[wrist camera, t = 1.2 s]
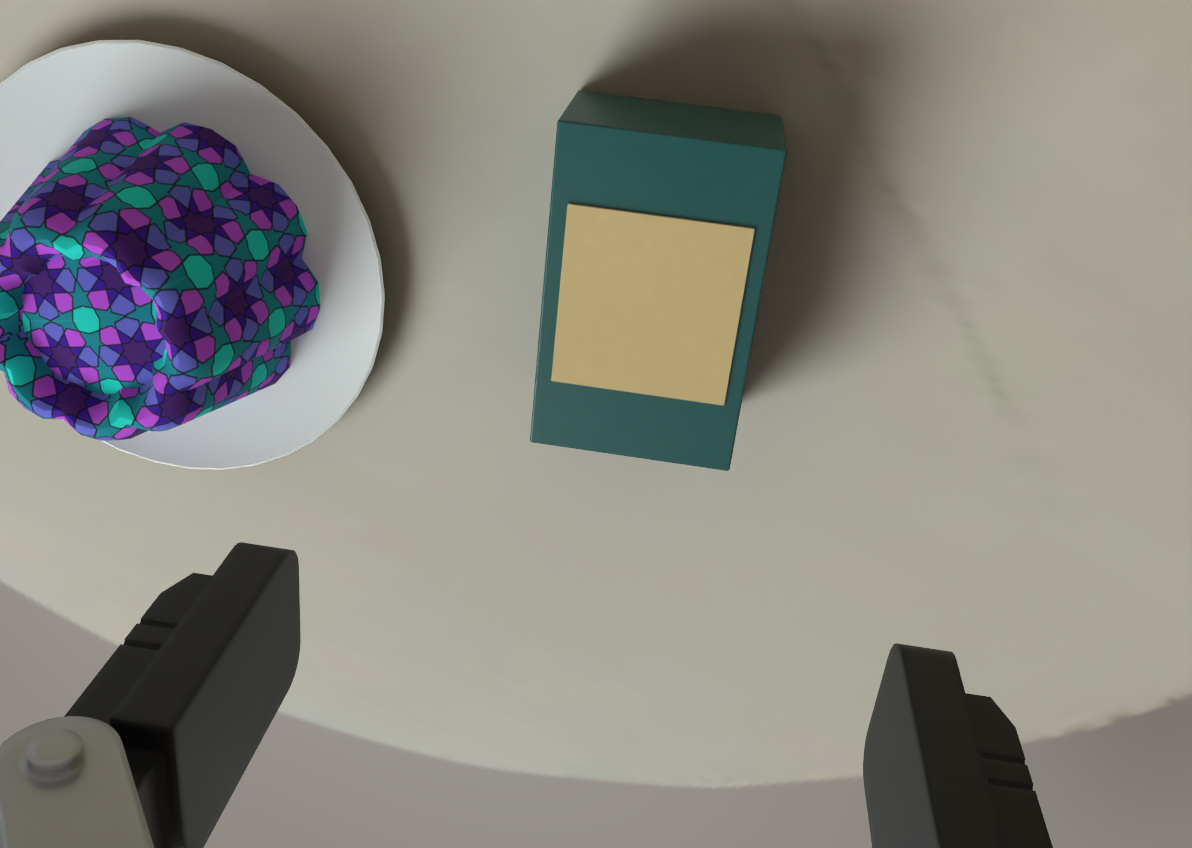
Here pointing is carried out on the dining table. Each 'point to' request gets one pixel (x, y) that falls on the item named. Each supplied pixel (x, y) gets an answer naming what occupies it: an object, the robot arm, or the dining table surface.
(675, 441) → the packet
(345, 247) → the pudding
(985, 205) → the dining table surface
